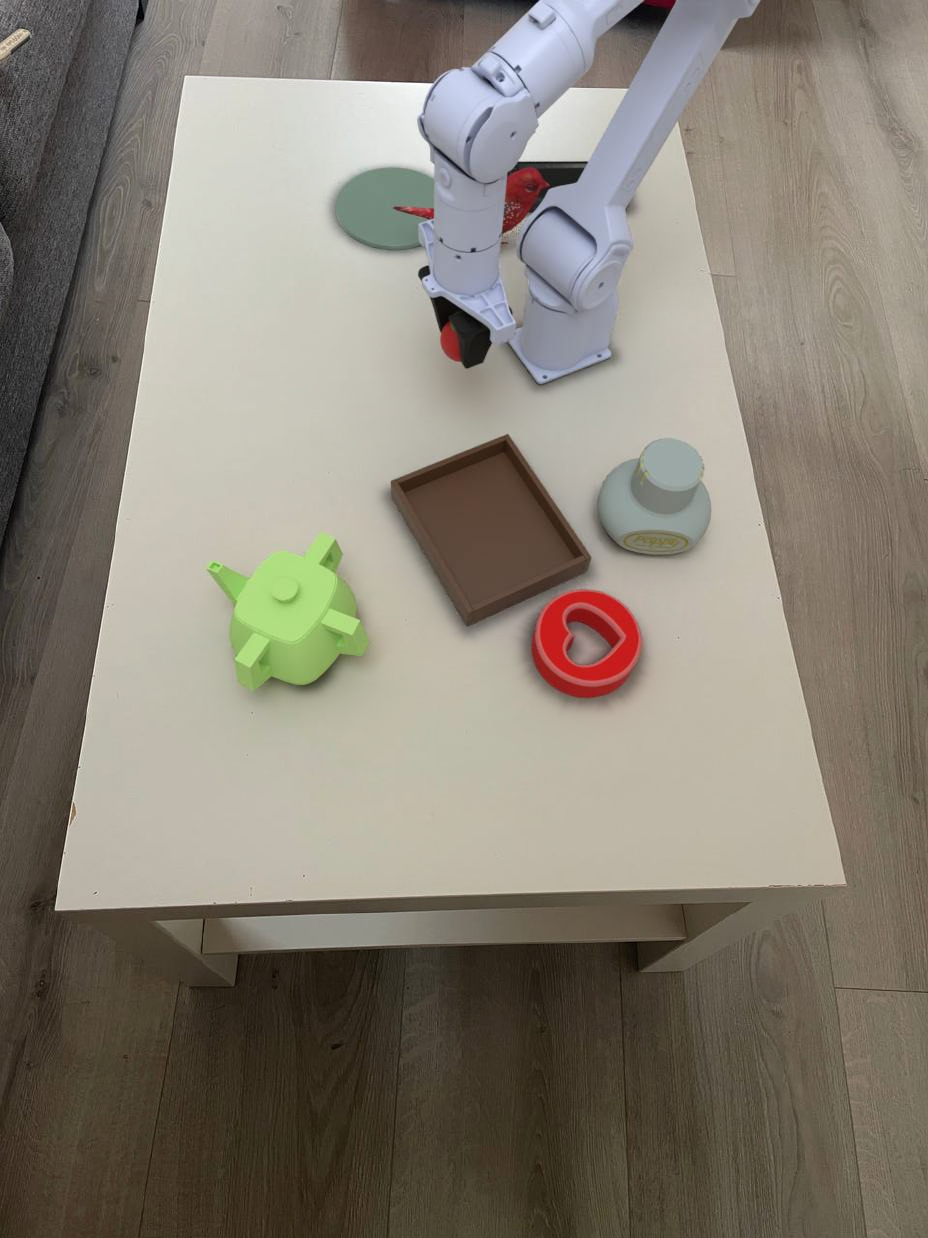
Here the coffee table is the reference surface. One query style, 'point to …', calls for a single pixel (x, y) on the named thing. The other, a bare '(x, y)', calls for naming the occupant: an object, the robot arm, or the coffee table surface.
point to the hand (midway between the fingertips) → (461, 347)
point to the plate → (385, 206)
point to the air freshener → (657, 499)
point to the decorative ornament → (557, 639)
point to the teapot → (291, 615)
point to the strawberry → (450, 342)
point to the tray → (489, 528)
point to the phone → (552, 174)
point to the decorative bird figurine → (517, 198)
